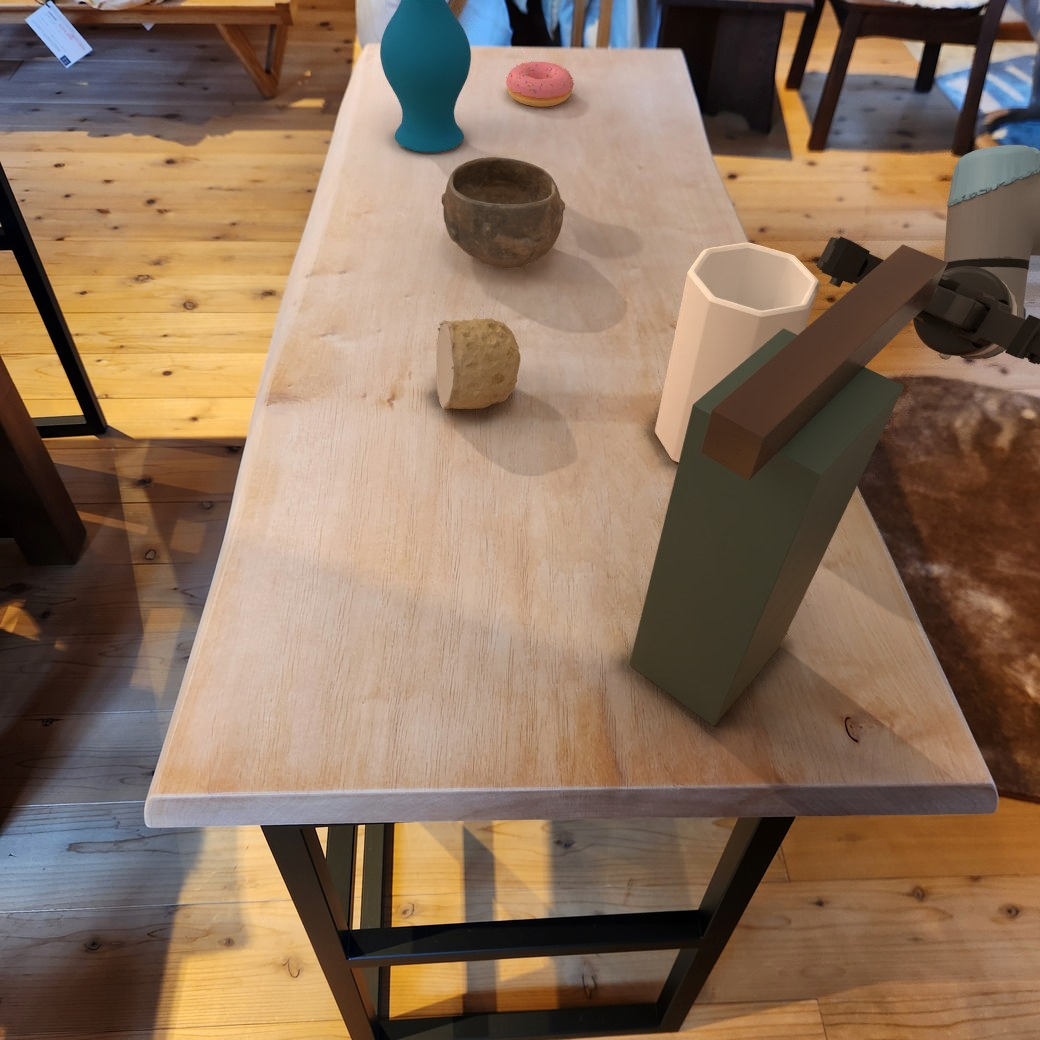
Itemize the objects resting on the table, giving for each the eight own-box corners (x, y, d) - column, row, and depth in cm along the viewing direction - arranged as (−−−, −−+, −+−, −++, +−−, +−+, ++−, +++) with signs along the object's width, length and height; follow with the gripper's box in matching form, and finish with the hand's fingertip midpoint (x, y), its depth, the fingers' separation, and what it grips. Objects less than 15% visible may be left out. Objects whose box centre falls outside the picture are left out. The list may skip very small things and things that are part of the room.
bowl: (529, 300, 100) (533, 222, 93) (417, 264, 105) (413, 186, 97) (578, 246, 109) (585, 170, 101) (473, 214, 113) (472, 139, 105)
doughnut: (499, 84, 142) (500, 57, 138) (563, 81, 143) (565, 54, 140) (513, 112, 135) (513, 84, 131) (580, 108, 136) (582, 81, 133)
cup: (631, 431, 86) (660, 268, 72) (705, 387, 91) (745, 227, 77) (715, 494, 80) (764, 331, 66) (788, 444, 85) (848, 282, 71)
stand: (781, 645, 69) (904, 385, 49) (713, 727, 64) (821, 475, 44) (699, 591, 72) (783, 327, 52) (628, 664, 67) (692, 404, 47)
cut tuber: (400, 317, 85) (490, 276, 84) (444, 391, 92) (528, 354, 91) (404, 371, 79) (502, 327, 77) (451, 446, 86) (542, 407, 84)
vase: (387, 122, 130) (369, -97, 110) (469, 122, 132) (467, -96, 111) (387, 159, 123) (368, -71, 102) (474, 158, 124) (473, -69, 103)
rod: (929, 303, 55) (948, 262, 52) (748, 481, 43) (763, 437, 41) (885, 285, 56) (902, 243, 54) (699, 452, 45) (711, 409, 42)
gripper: (1081, 415, 72) (1075, 427, 55) (819, 296, 83) (744, 275, 65) (1139, 333, 69) (1151, 318, 52) (859, 221, 80) (791, 177, 62)
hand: (924, 294), depth 59 cm, fingers open, 13 cm apart
